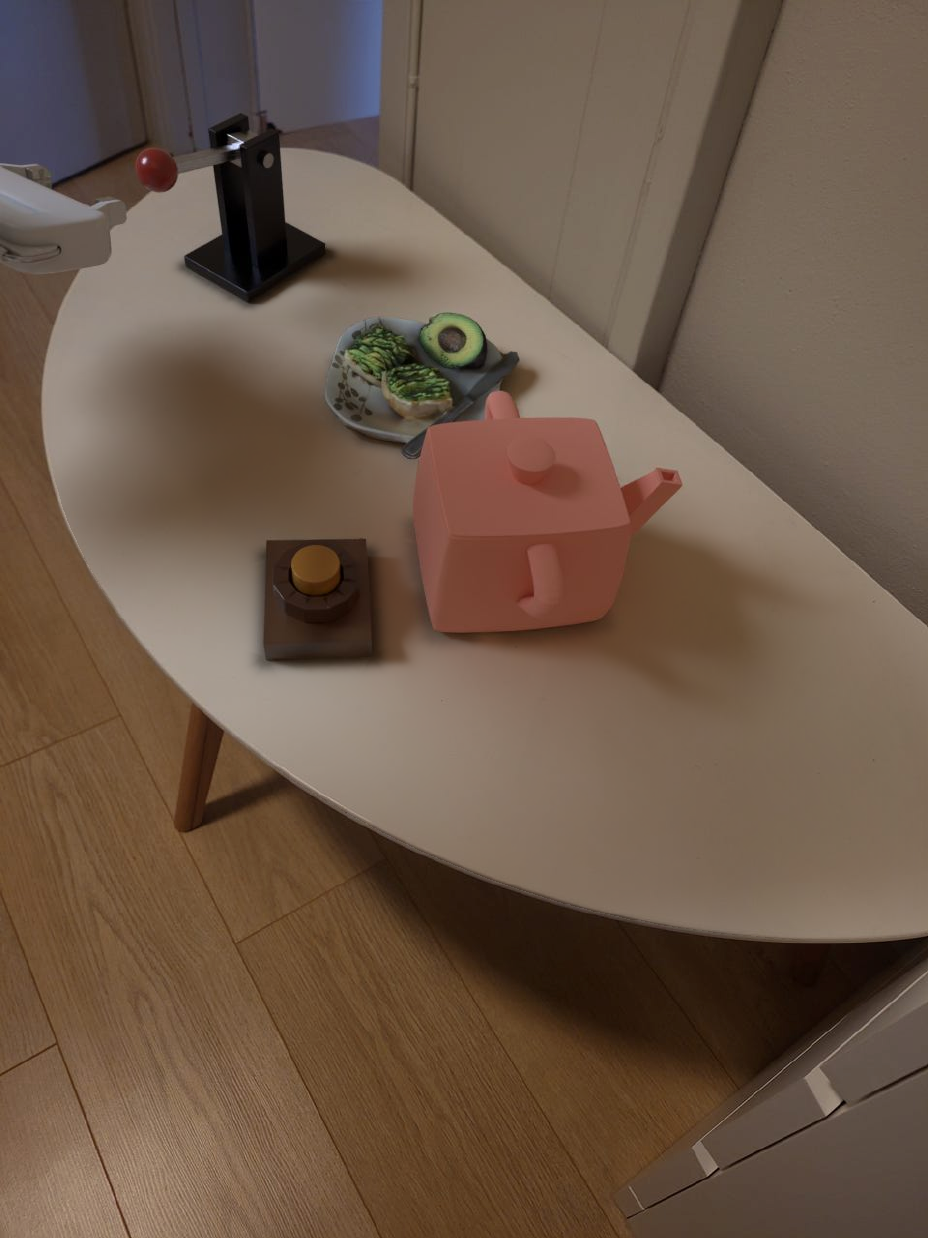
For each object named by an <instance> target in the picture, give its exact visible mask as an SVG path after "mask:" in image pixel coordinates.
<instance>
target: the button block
mask: <svg viewBox="0 0 928 1238" xmlns="http://www.w3.org/2000/svg"><path fill="white" fill-rule="evenodd" d="M367 543H368V542H367V538H324V539H323V538H321V539H268V540H266V541H265V563H264V564H265V565H264V567H265V568H264V598H263V599H264V601H263V602H264V604H263V605H264V606H263V636H262V645H263V651H264V658H265V660H266V661H269V660H272V661H273V660H298V659H299V660H300V659H301V660H302V659H328V658H357V657H372V649H373V639H372V637H373V636H372V620H371V619H372V616H371V601H370V583H369V582H370V581H369V580H370V579H369V563H368V545H367ZM311 545H321V546H325V547H328V548H330V549H331V550H333V551H334V552H335V553H336V554H337V556H338V558H339V560H340V581H339V584H338V585H337V587H336V588H335V589H334V590H333V591H331V592H330V593H328V594H325V595H321V596H311V595H307V594H304V593H302V592H301V591H299V590H298V589H297V588H296V586H295V585H294V583H293V578H292V568H291V562H292V559H293V557H294V555H295V554H296V553H297V552H298V551H299V550H300V549H302V548H304V547H307V546H311Z"/></svg>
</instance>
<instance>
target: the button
mask: <svg viewBox="0 0 928 1238" xmlns="http://www.w3.org/2000/svg"><path fill="white" fill-rule="evenodd" d="M291 568H292V578H293V583H294V585H295V586H296V588H297V589H298V590H299V591H301V592H302V593H304V594H307V595H311V596H321V595H325V594H328V593H330V592H331V591H333V590H334V589H335V588H336V587H337V585H338V584H339V581H340V560H339V558H338V556H337V554H336V553H335V552H334V551H333V550H331V549H330V548H328V547H325V546H321V545H311V546H307V547H304V548H302V549H300V550H299V551H298V552H297V553H296V554H295V555H294V557H293V559H292V562H291Z"/></svg>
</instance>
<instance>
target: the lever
mask: <svg viewBox="0 0 928 1238" xmlns="http://www.w3.org/2000/svg"><path fill="white" fill-rule="evenodd" d="M249 130H250V129H249ZM249 130H245V131H240V132H236V133H231V134H228V135H227V145H225V146H221V147H217V148H212V149H211V148H208V149H204V150H200V151H196V152H191V153H187V154H182V155H178V156H174V157H173V156H172V155H171V154H170V153H169V152H168V151H166V150H165V149H163V148H160V147H147V148H145V149H144V150H142V151H140V153H139V154H138V156H137V158H136V160H135V165H134V168H135V175H136V177H137V179H138V181H139V183H140V184H141V185H142V186H143V187H144V188H145V189H147V190H149V191H150V192H153V193H156V194H157V193H158V194H161V193H162V194H163V193H166V192H169V191H170V190H172V188H174V187H175V185H176V184H177V182H178V178H179V175H180V174H185V173H188V172H192V171H195V170H200V169H205V168H208V167H213V165H217V164H221V163H225V162H229V161H230V162H232V163H234V164H236V165H237V166H239V167H241V168H242V166H241V157H240V148H239V145H240V144H242V143H244V142H246V141H248V140H250V139H252V138H254V137H256V136H258V135H259V134H257V133H256V132H253V131H251V130H250V131H249Z"/></svg>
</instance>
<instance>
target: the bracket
mask: <svg viewBox="0 0 928 1238" xmlns="http://www.w3.org/2000/svg"><path fill="white" fill-rule="evenodd" d="M245 130H249V131H251V130H250V122H249V116H248V115H246V114H244V113H243V112H240V113H237V114H236V115H234V116H231V117H229V118H227V119H225V120H223V121H221V122H219V123H217V124H215V125H212V126H210V127H209V128H207V131H208V133H207V134H208V140H209V147H210V148H209V149H212V148H217V147H221V146H225V145H227V135H228V134H231V133H236V132H240V131H245ZM257 135H258V136H256V137H254V138H252V139H250V140H248V141H246V142H244V143H242V144H240V145H239V148H240V157H241V166H242V168H241V167H239V166H237V165H236V164H234V163H232V162H230V161H229V162H225V163H221V164H217V165H213V166H212V168H213V169H212V170H213V176H214V185H215V191H216V199H217V206H218V215H219V222H220V228H221V234H219V235H218V236H216V237H214V238H212V239H211V240H209V241H207V242H206V243H204V244H202V245H200V246H199V247H198V248H196V249H194V250H192V251H190V252H188V253H187V254H185V255H183V259H184V265H185V267H186V268H187V269H189V270H190V271H192V272H194V273H196V274H198V275H199V276H201V277H203V278H204V279H206V280H208V281H209V282H211V283H213V284H215V285H217V286H218V287H220V288H222V289H224V290H225V291H226V292H229V293H230V294H232V295H234V296H236V297H237V298H239V299H241V300H243V301H244V302H246V303H248V304H249V303H251V302H252V301H254V300H255V299H257V298H258V297H261V295H263V294H265V293H267V292H268V291H270V290H271V289H273V288H274V287H276V286H277V285H279V284H280V283H282V282H284V281H285V280H286V279H289V278H290V277H292V276H293V275H295V274H297V273H298V272H299V271H302V270H303V269H304V268H306V267H307V266H309V265H310V264H312V263H314V262H315V261H317V260H318V259H320V258H321V257H323V256H325V255H326V242H324V241H322V240H320V239H318V238H316V237H315V236H312V235H310V234H309V233H307V232H305V231H304V230H301V229H300V228H298V227H296V226H294V225H293V224H290V223H288V222H286V210H285V195H284V182H283V169H282V168H283V167H282V153H281V140H280V131H278V130H276V129H273V128H269V129H267V130H265V131H263V132H261V133H259V134H257Z"/></svg>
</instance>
